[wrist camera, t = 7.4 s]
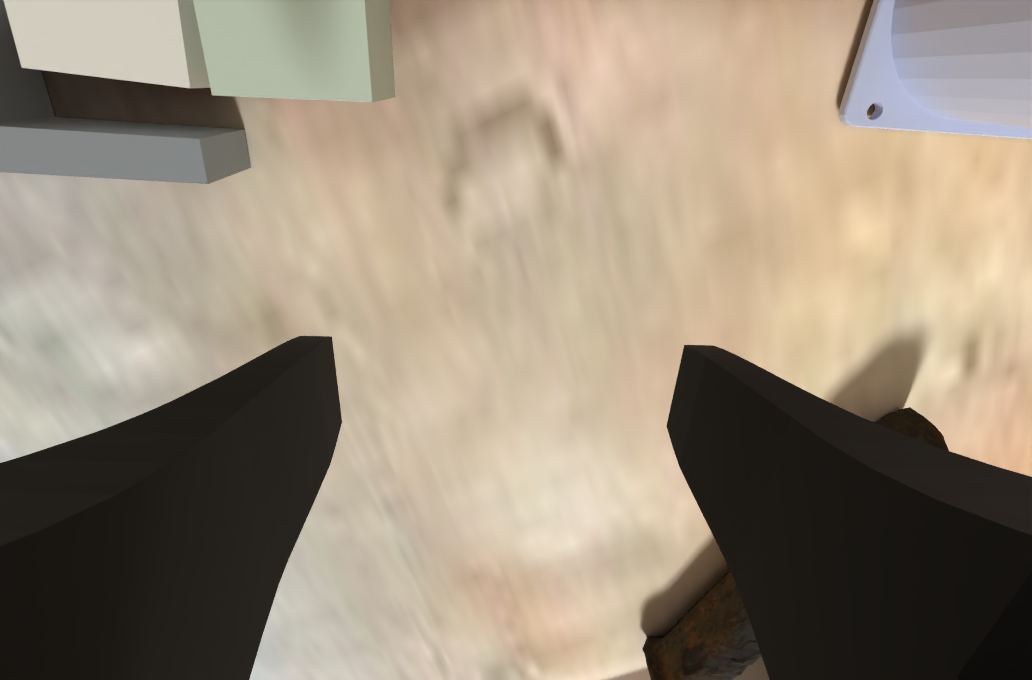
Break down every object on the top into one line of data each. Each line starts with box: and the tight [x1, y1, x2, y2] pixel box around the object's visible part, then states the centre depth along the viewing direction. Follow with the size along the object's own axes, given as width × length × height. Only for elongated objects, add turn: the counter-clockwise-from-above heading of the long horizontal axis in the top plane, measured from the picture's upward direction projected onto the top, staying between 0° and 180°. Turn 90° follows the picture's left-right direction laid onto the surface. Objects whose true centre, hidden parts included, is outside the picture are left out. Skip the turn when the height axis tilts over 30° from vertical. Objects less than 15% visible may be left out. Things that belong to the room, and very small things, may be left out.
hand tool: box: [643, 408, 949, 680], centre depth 25 cm, size 19×4×5 cm, turn 150°
